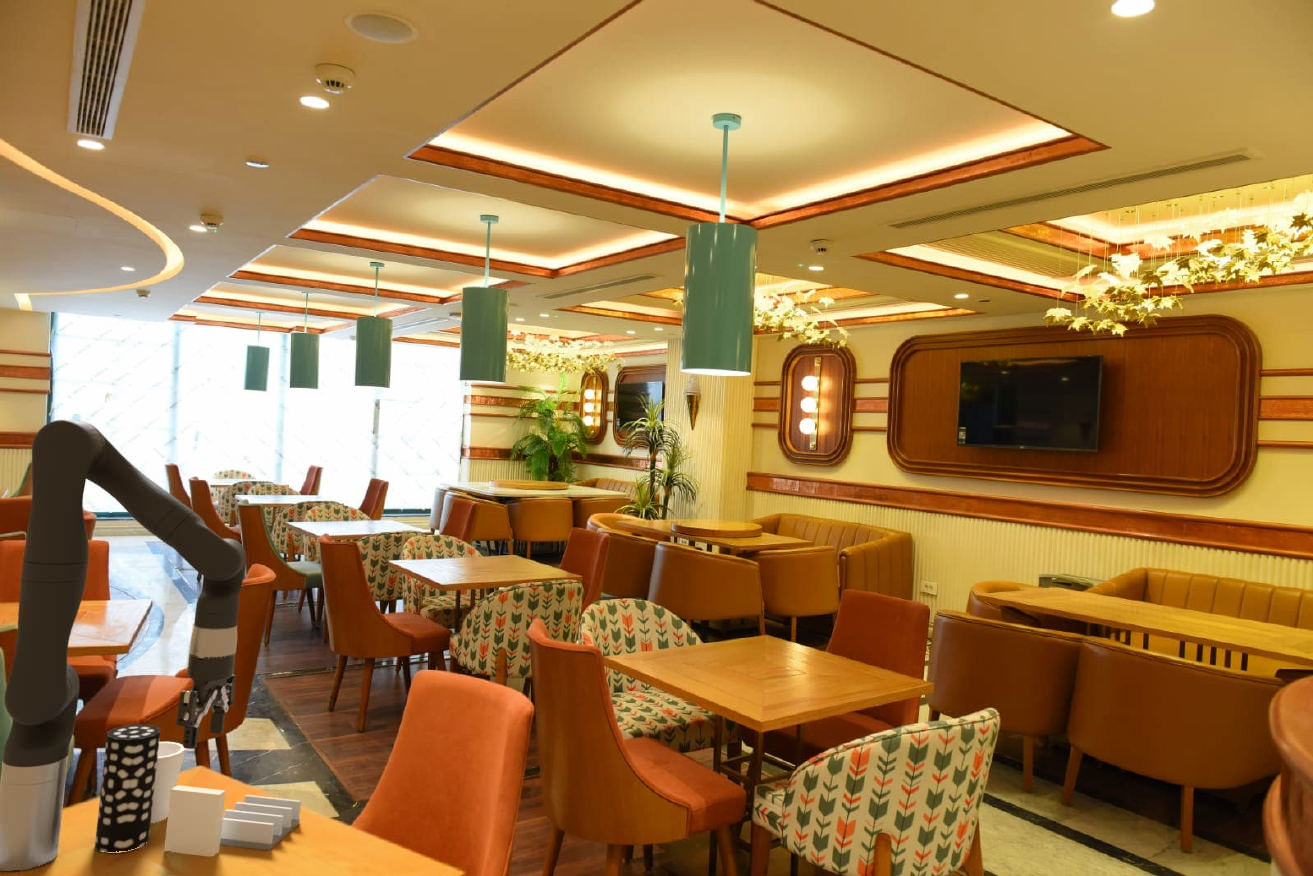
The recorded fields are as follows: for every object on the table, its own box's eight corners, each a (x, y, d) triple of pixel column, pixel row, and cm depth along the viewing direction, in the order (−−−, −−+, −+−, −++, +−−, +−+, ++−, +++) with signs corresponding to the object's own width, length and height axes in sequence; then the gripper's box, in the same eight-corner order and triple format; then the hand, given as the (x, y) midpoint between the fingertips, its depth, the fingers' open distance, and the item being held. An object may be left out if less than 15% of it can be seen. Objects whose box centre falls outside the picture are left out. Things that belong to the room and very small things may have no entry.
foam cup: (187, 817, 167) (194, 750, 168) (137, 832, 160) (145, 762, 160) (161, 803, 172) (168, 738, 173) (112, 817, 165) (119, 749, 165)
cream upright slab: (164, 851, 153) (170, 789, 154) (171, 846, 155) (177, 785, 156) (213, 857, 153) (219, 794, 153) (219, 852, 155) (225, 790, 155)
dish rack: (210, 843, 158) (213, 819, 158) (245, 817, 170) (247, 794, 170) (269, 850, 157) (271, 825, 157) (299, 823, 169) (301, 800, 169)
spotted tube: (123, 857, 150) (135, 742, 151) (83, 849, 152) (95, 735, 152) (159, 838, 158) (171, 729, 159) (121, 830, 160) (132, 722, 160)
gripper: (214, 640, 163) (205, 726, 162) (169, 656, 149) (158, 751, 148) (253, 644, 162) (244, 730, 162) (211, 661, 148) (201, 755, 148)
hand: (203, 740), depth 155 cm, fingers open, 8 cm apart
